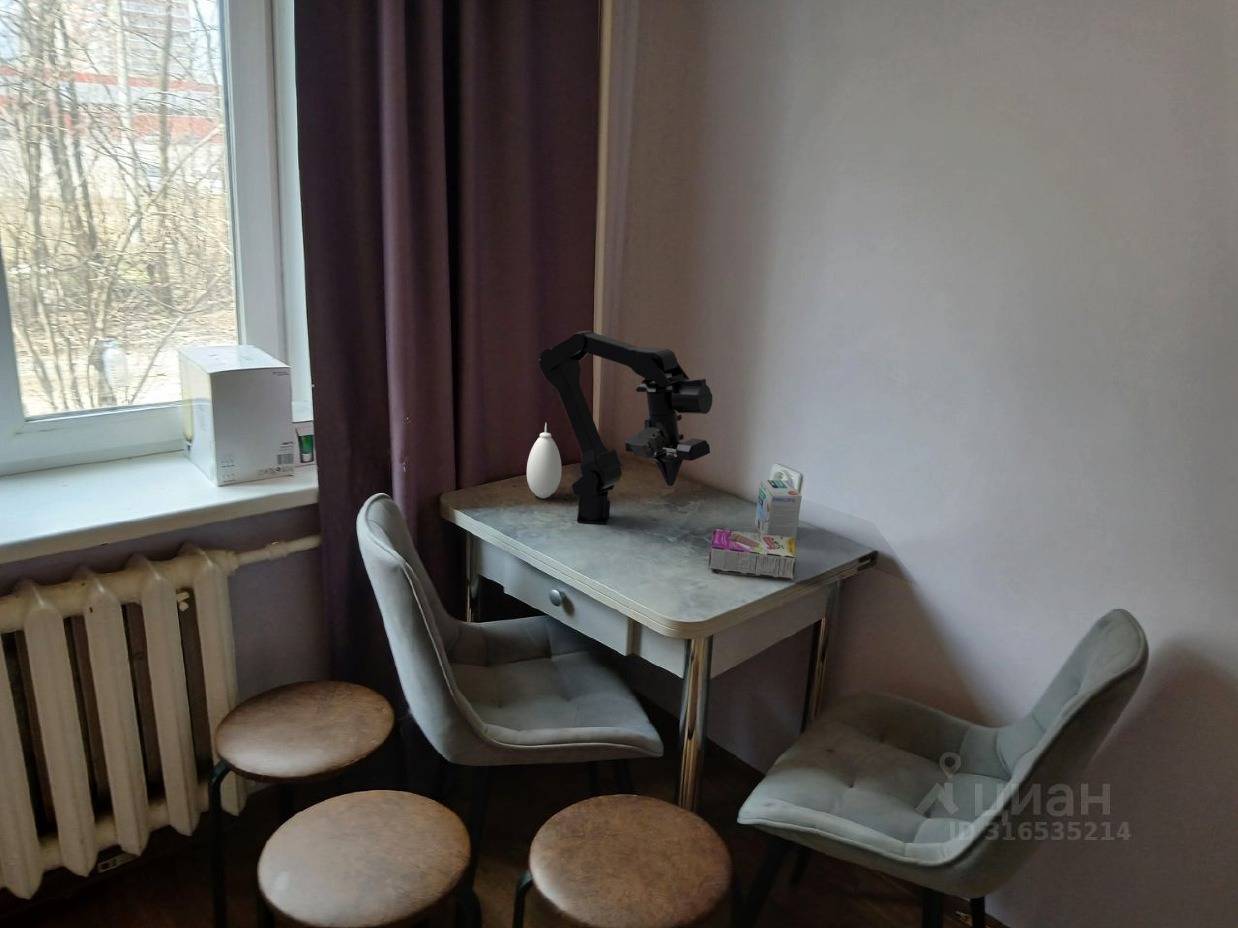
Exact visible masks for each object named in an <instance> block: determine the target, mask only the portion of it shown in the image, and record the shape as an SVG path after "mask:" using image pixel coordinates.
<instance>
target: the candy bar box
mask: <svg viewBox="0 0 1238 928" xmlns="http://www.w3.org/2000/svg"><path fill="white" fill-rule="evenodd" d="M711 541H712V542H710V549H709V550H710V551H709V558H708V570H712V571H713V570H714V571H718V570H719V571H727V572H735V573H744V574H752V575H760V576H759V577H765V576H768V577H769V578H777V579H787V580H794V576H795V571H796V561H797V556H796V555H797V554H796V553H797V552H796V541H794V537H786V536H778V535H769V534H761V533H760V532H759V533H758V532H757V533H756V532H751V531H750V532H749V531H748V532H747V531H741V530H734V529H733V530H732V529H723V528H714V527H713V531H712V537H711ZM768 577H767V578H768Z"/></svg>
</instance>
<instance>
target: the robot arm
mask: <svg viewBox="0 0 1238 928" xmlns="http://www.w3.org/2000/svg"><path fill="white" fill-rule="evenodd" d="M588 354H590V355H593V356H597V357H599V358H602V359H605V360H608V361H611V362H614V363H617V364H620V365H623V366H626V367H627V368H630V369H631V370H632V371H633V372H634V374H636V375H638V377H641V378H643V379H642V381H641V383H640V384H639V385H638V386H637V387H636V389H635V392H636V393H645V395H646V396H645V397H646V404H647V412H648V418H646V419H644V423H643V424H644V429H642V430H641V431H639V432H638V433H636V434H634V435H631V436H628V437H627V438H626V439H625V442H624V444H625V451H626V452H629V453H633V455H634V457H635V458H636V457H637V458H638V457H640V458H641V457H642V458H644V459H650V460H652V461H653V462H654V463H656V465H657V466H658V468H659V471H660V472H661V475H662V476H663V479H664V481H665V483H666V485H667V486H668V487H673V486H675V483H676V479H677V477H678V475H679V472H680V468H681V466H682V463H683V461H689V462H690V461H695V460H697V459H700V458H702V457H704V456H706V455H708V454H710V453H711V450H710V449H711V448H710V443H709V442H708V441H707V440H705V439H700V438H699V439H698V438H690V439H687V440H685V441H682V440H684V439H685V438H684V434H683V433H680V430H679V421H681V420H682V419H683V417H682V414H689V415H690V414H691V415H693V414H694V415H695V414H696V415H707V414H708V413H709V412H710V411H711V408H712V405H713V394H712V392H711V389H710V387H709V386H708V385H707V380H706V378H698V379H690V377H689V376H688V375H687V373H686V371H684V369H683V367H682V366H681V365H680V364H679V362H678V358H677V357H676V355H675V352H674V351H673V350H671V349H669V348H659V347H644V346H643V347H642V346H637V345H633V344H630V343H627V342H624V341H620V340H617V339H614V338H611V337H609V336H604V335H602V334H599V333H596V332H594V331H592V330H588V329H587V330H582V331H577V332H575V333H574V334H573V335H571V336H570V337H569V338H568V339H565V340H564V341H562V342H560V343H559V344H557V345H555V346H553V347H552V348H546V349H544V350H543V351H542V352H541V353H540V356H539V359H538V366H539V368H540V370H541V372H542V374H543V377H544V378H545V380H546V381H547V382H548V383H549V384H550V385H551V386H552V387H553V388H554V389H555V390H556V391H557V393H558V396H559V398H560V400H561V403H562V405H563V408H564V410H565V413H566V415H567V419H568V420H569V423H570V426H571V428H572V432H573V435H574V437H575V439H576V443H577V444H578V447H579V450H580V454H581V455H580V465H579V467H580V468H579V469H580V473H581V477H580V478H578V479H577V480H576V481H574V482H573V483H572V484H571V486H572V492H573V495H574V496H575V495H576V496H578V509H577V516H576V517H577V518H576V522H577V523H585V524H599V525H607V524H608V520H609V519H610V513H611V512H610V511H611V510H610V509H611V497H609V492H610V491H613V490H614V489H615V486H616V484H618V483H619V481H620V480H621V477H622V473H623V472H622V467H623V464H622V463H621V462H620V460H619V457H618V453H617V451H616V449H611V450H609V449H608V448H607V447H606V446H605V445H604V443H603V441H602V439H601V437H600V436H601V435H600V434H599V432H598V429H597V426H596V423H595V421H594V418H593V415H592V413H591V410H590V408H589V404H588V403H587V400H586V397H585V395H584V392H583V389H582V387H581V384H580V379H581V378H580V377H581V365H580V361H582V360H583V359H585V358H586V356H588ZM681 441H682V442H681Z"/></svg>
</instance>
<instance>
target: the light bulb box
mask: <svg viewBox="0 0 1238 928" xmlns="http://www.w3.org/2000/svg"><path fill="white" fill-rule="evenodd" d="M758 491H759V492H758V497H757V498H758V499H757V504H756V505H757V507H756V515H755V520H754V525H755V527H756V528H757V530H758V532H759V533H760V534H769V535H778V536H786V537H794V541H795V542H796V539H797V533H798V527H799V526H798V525H799V518H800V511H801V510H800V509H801V503H802V498H803V497H802V495H801V493H800V492H799V491H798V490H797V489H796V488H795V485H793V484H792V482H790V480H788V479H787V480H785V479H784V480H782V479H774V480H773V479H760V480H759V490H758Z"/></svg>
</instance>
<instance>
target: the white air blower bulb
mask: <svg viewBox="0 0 1238 928" xmlns="http://www.w3.org/2000/svg"><path fill="white" fill-rule="evenodd" d="M547 425H548V423H547V422H545V425H544V432H541V433H539V437H538V438H537V440H536V441H535V442H534V444H533V445H532V447H531V450H530V452H529V454H528V455H529V456H528V459H527V464H526V480H527V484H528V487H529V489H530V491H531V492H532V493H533V494H535V496H537V497H538V498H540V499H547V498H549V497H551V496H552V494H554V493H555V492H556V491H557V489H558V488H559V485H560V484H561V483H560V482H561V479H562V460H561V456H560V455H561V454H560V451H559V448H558V446H557V444H556V442H555V440H554V439H553V438H552V434H551V433H550V432H547V431H548V429H547V427H548V426H547Z"/></svg>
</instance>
